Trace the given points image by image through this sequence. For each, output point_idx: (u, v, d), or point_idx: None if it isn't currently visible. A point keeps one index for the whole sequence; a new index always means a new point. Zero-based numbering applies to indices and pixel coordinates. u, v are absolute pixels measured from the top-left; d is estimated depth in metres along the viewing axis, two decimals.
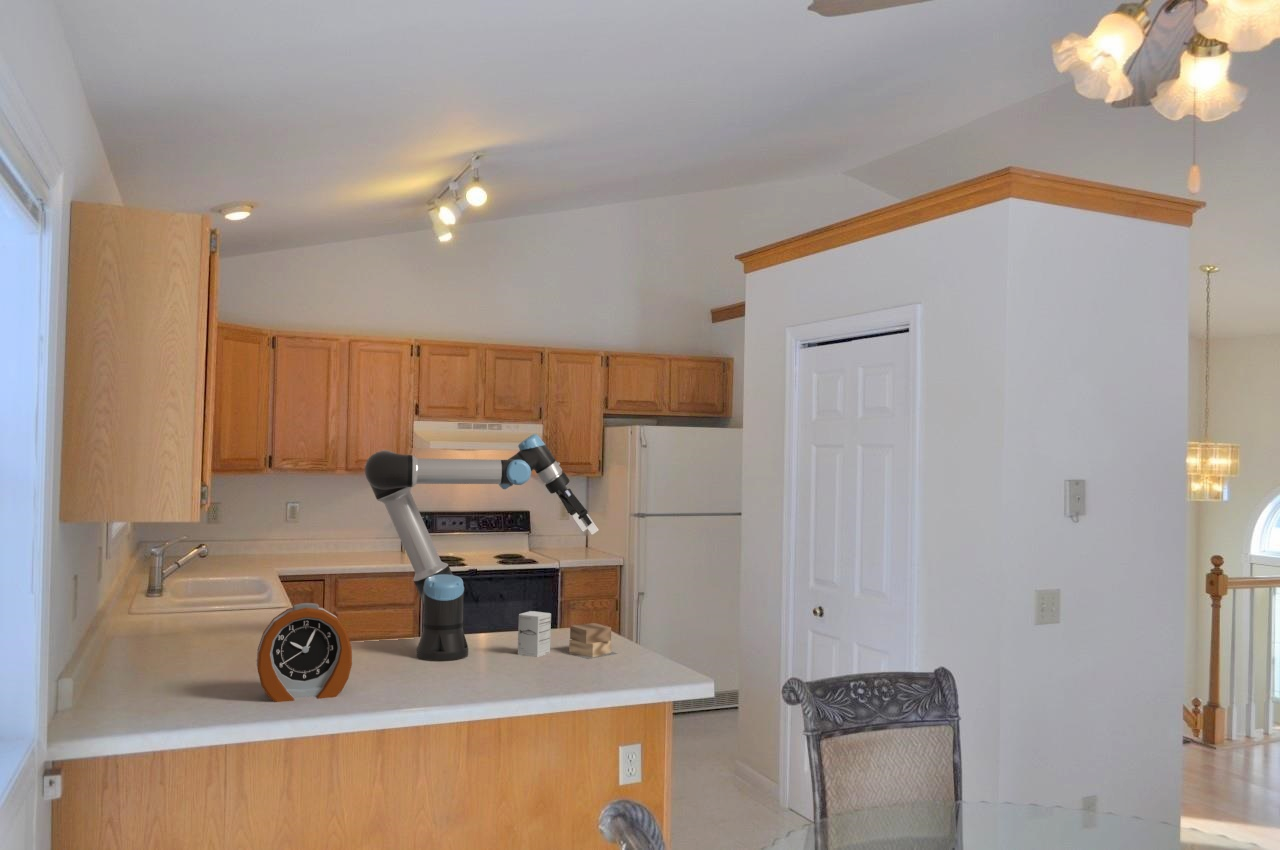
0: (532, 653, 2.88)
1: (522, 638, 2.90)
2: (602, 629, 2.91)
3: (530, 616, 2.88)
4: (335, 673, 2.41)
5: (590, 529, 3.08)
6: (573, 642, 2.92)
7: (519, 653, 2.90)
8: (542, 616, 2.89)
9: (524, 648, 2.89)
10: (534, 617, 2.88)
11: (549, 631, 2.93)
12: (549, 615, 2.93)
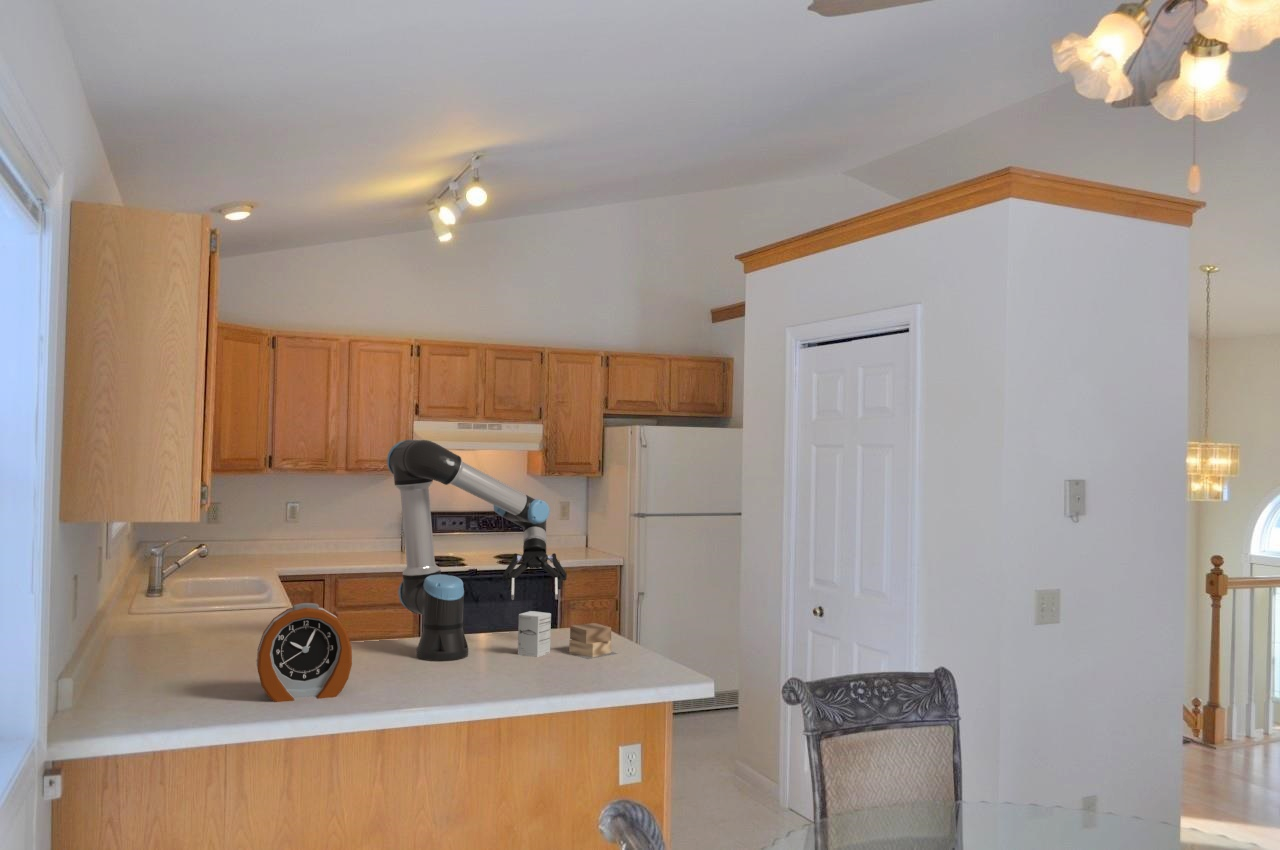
0: (532, 653, 2.88)
1: (522, 638, 2.90)
2: (602, 629, 2.91)
3: (530, 616, 2.88)
4: (335, 673, 2.41)
5: (557, 590, 3.04)
6: (573, 642, 2.92)
7: (519, 653, 2.90)
8: (542, 616, 2.89)
9: (524, 648, 2.89)
10: (534, 617, 2.88)
11: (549, 631, 2.93)
12: (549, 615, 2.93)
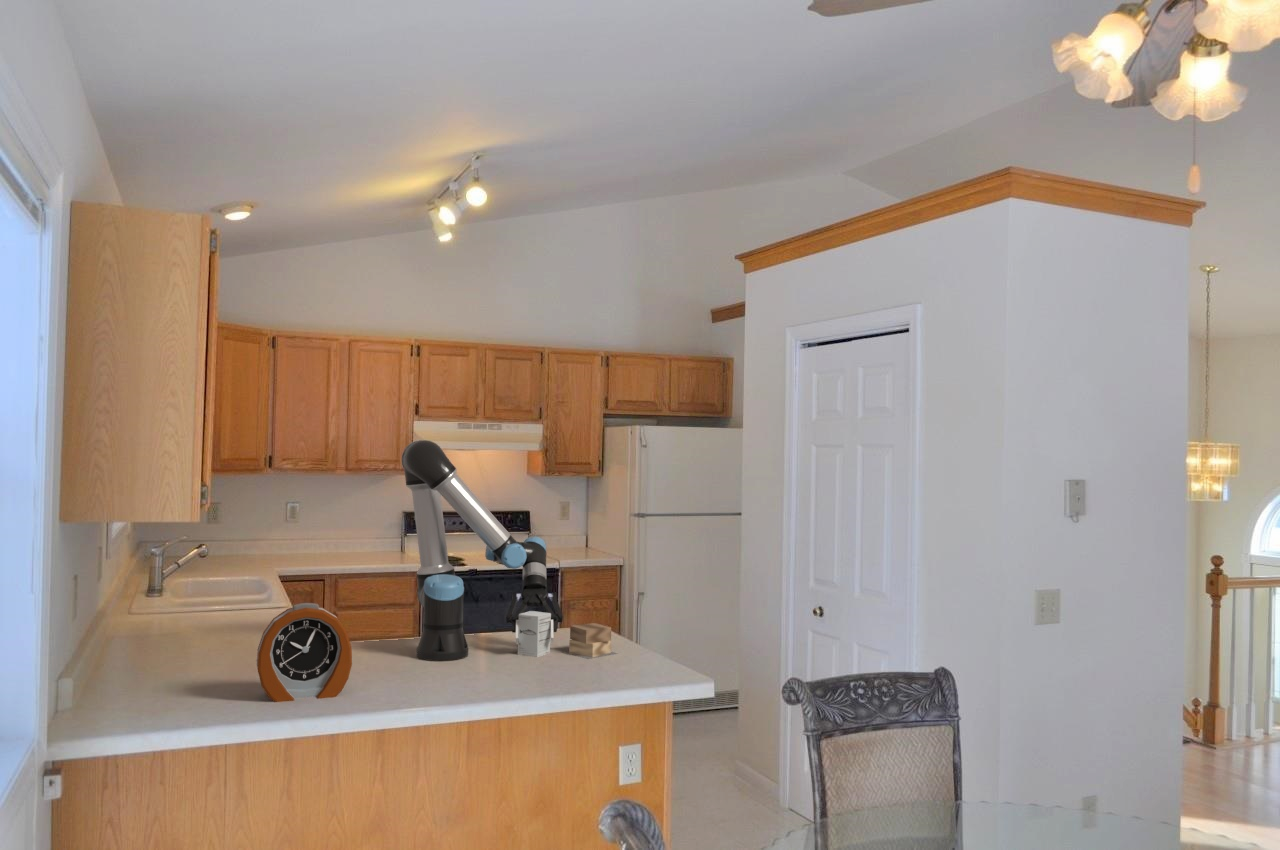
0: (532, 653, 2.88)
1: (521, 638, 2.90)
2: (602, 629, 2.91)
3: (530, 616, 2.88)
4: (335, 673, 2.41)
5: None
6: (573, 642, 2.92)
7: (519, 653, 2.90)
8: (542, 616, 2.89)
9: (524, 648, 2.89)
10: (534, 617, 2.88)
11: (549, 631, 2.93)
12: (549, 615, 2.93)
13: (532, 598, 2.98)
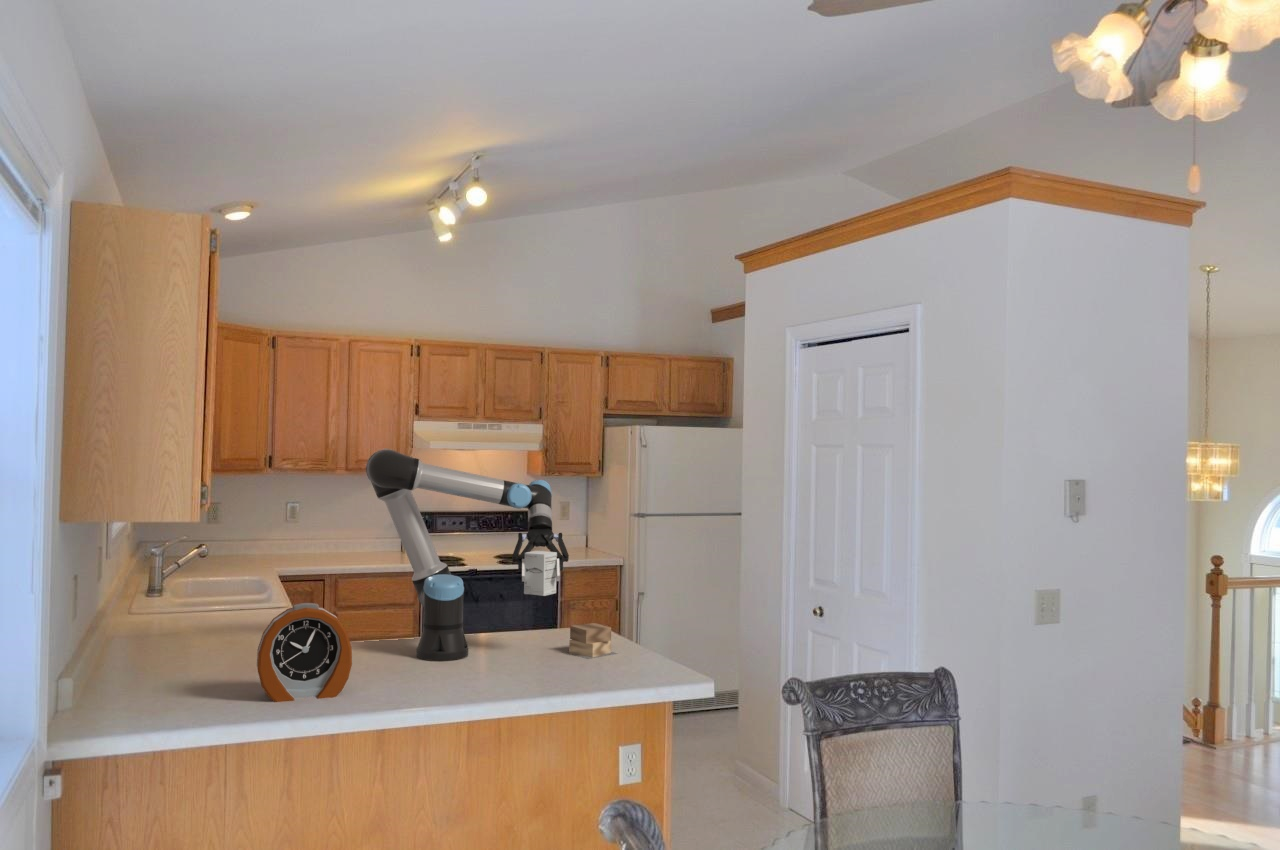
0: (538, 591, 2.89)
1: (528, 577, 2.90)
2: (602, 629, 2.91)
3: (536, 554, 2.89)
4: (335, 673, 2.41)
5: (559, 571, 2.91)
6: (573, 642, 2.92)
7: (525, 591, 2.91)
8: (548, 554, 2.90)
9: (530, 586, 2.90)
10: (540, 555, 2.89)
11: (555, 570, 2.94)
12: (555, 554, 2.93)
13: (538, 538, 2.99)
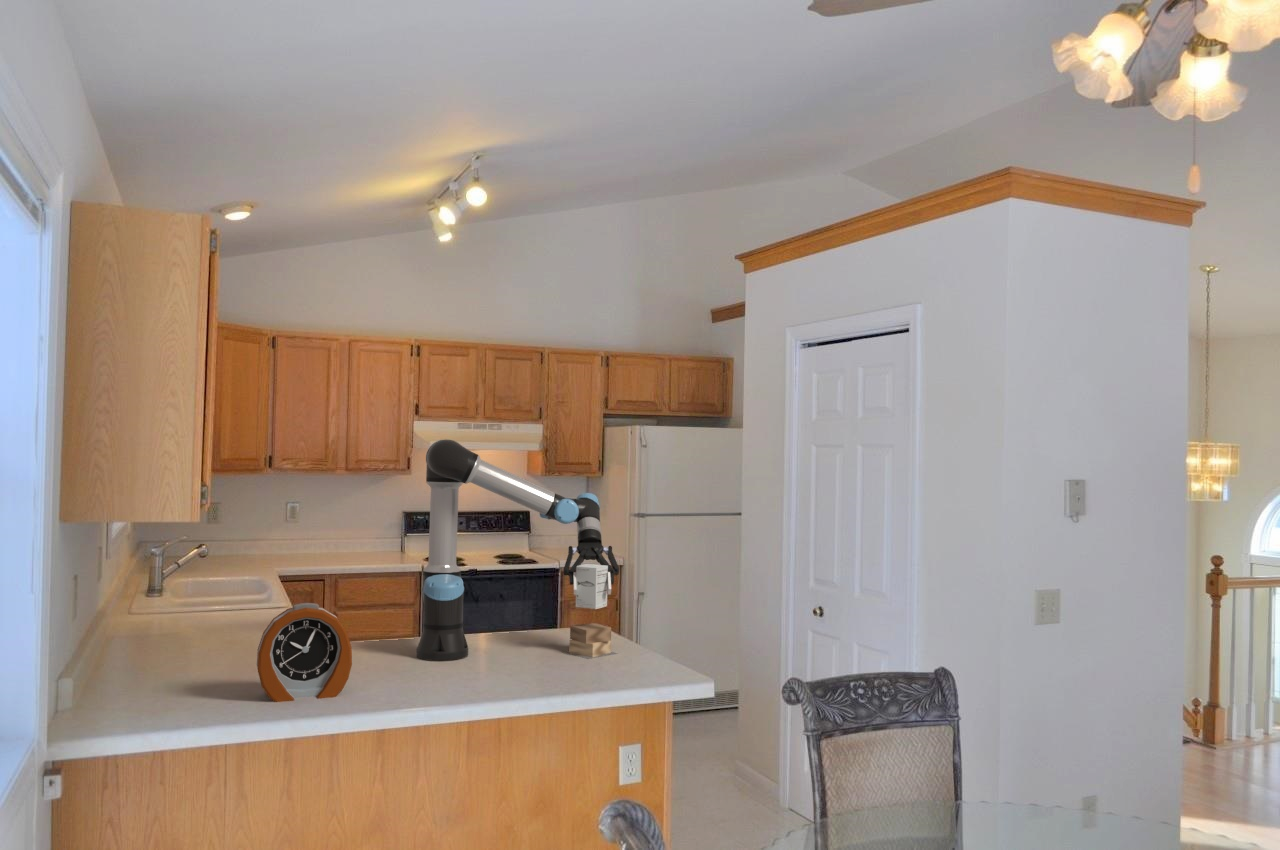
0: (590, 604, 2.90)
1: (579, 590, 2.92)
2: (602, 629, 2.91)
3: (588, 568, 2.91)
4: (335, 673, 2.41)
5: (610, 585, 2.93)
6: (573, 642, 2.92)
7: (577, 604, 2.93)
8: (600, 568, 2.92)
9: (582, 599, 2.92)
10: (592, 568, 2.90)
11: (606, 583, 2.95)
12: (606, 567, 2.95)
13: (588, 551, 3.01)
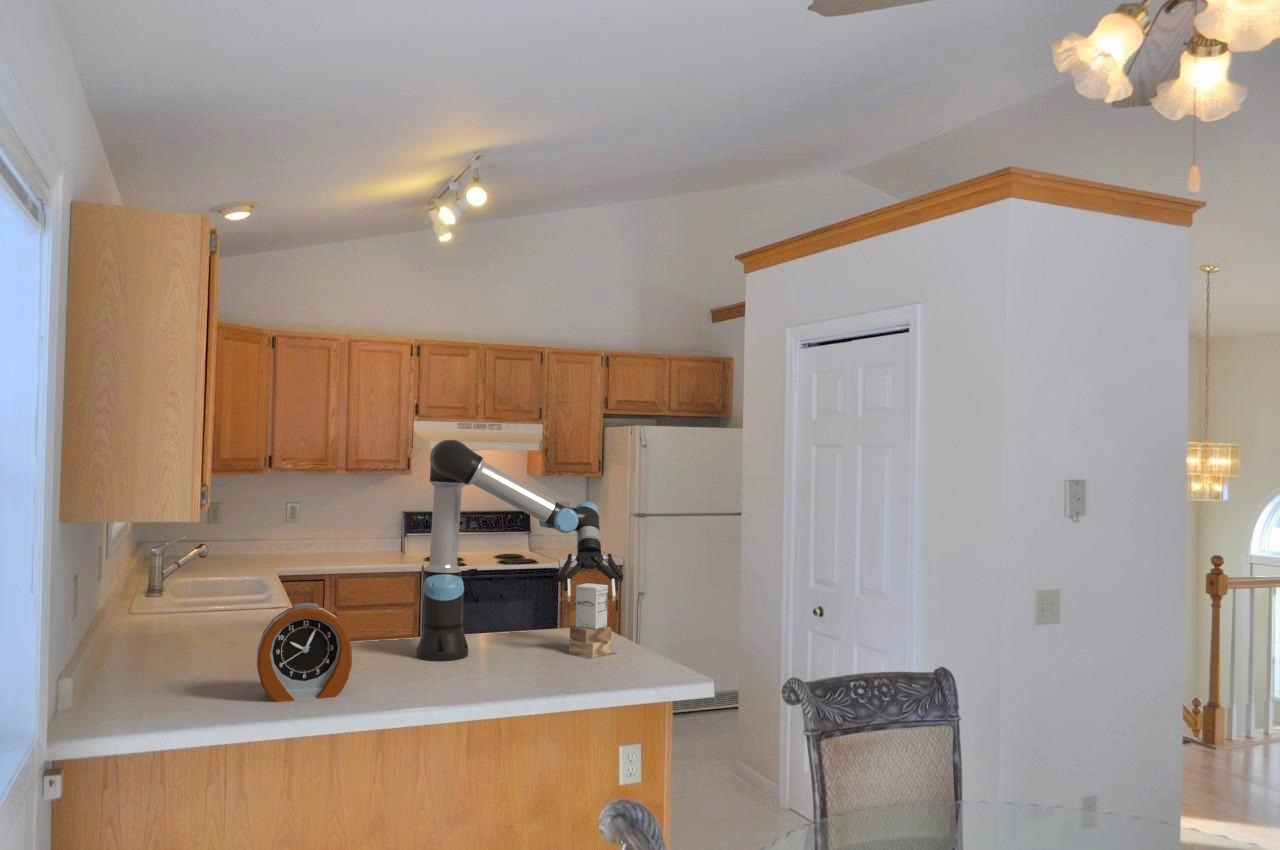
0: (590, 624, 2.90)
1: (579, 610, 2.92)
2: (602, 629, 2.91)
3: (588, 587, 2.91)
4: (335, 673, 2.41)
5: None
6: (573, 642, 2.92)
7: (577, 624, 2.92)
8: (600, 587, 2.92)
9: (581, 619, 2.92)
10: (592, 588, 2.90)
11: (606, 603, 2.95)
12: (606, 587, 2.95)
13: (587, 561, 3.01)
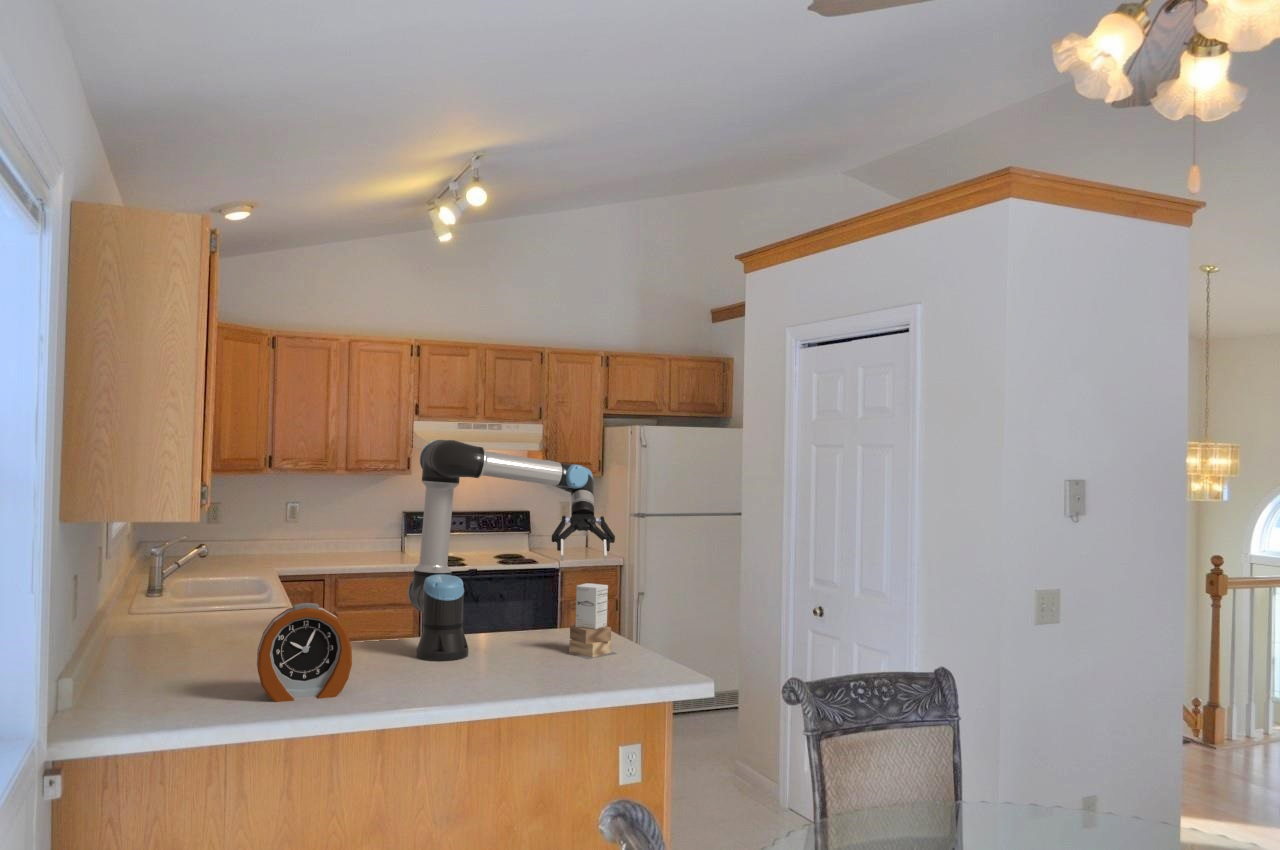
0: (590, 624, 2.90)
1: (579, 610, 2.92)
2: (602, 629, 2.91)
3: (588, 587, 2.91)
4: (335, 673, 2.41)
5: None
6: (573, 642, 2.92)
7: (577, 624, 2.92)
8: (600, 587, 2.92)
9: (581, 619, 2.92)
10: (592, 588, 2.90)
11: (606, 603, 2.95)
12: (606, 587, 2.95)
13: (581, 523, 3.13)
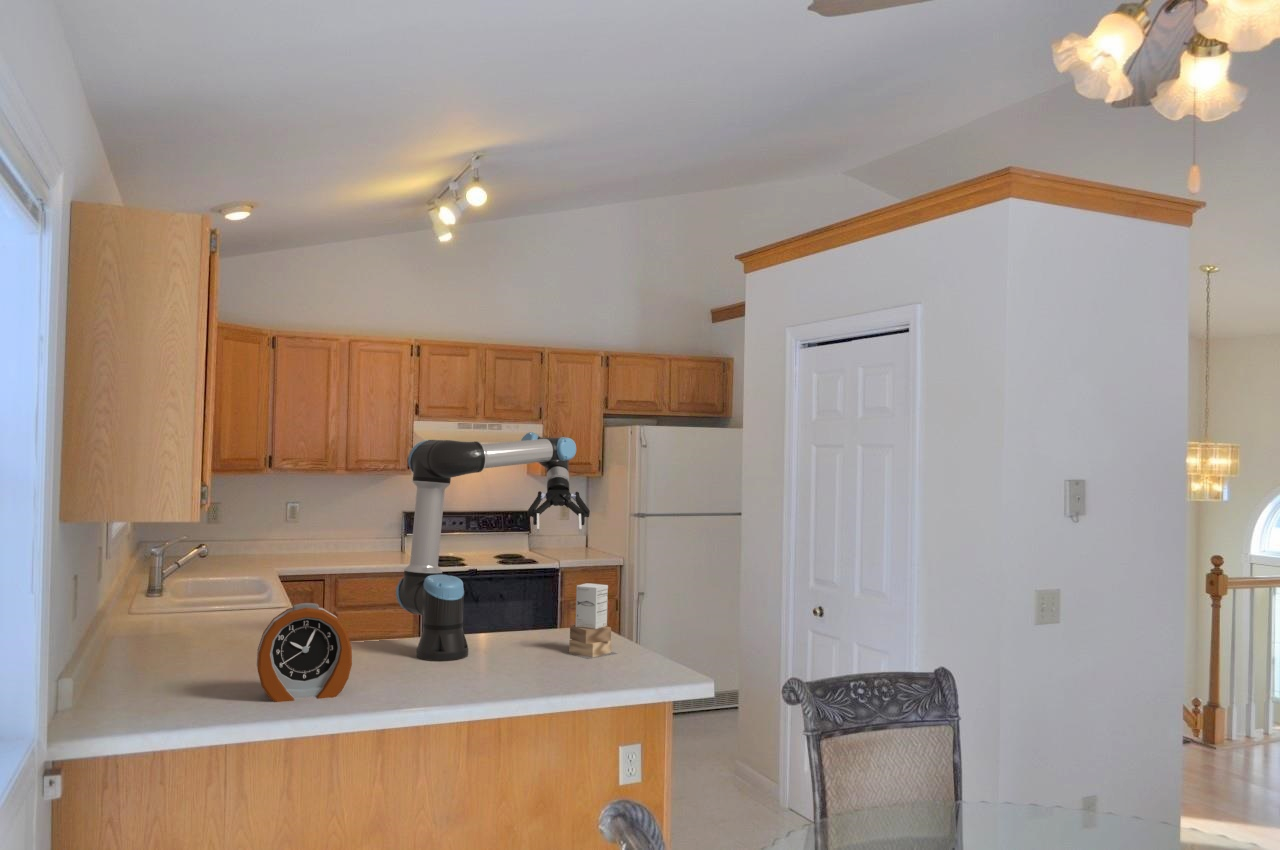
0: (590, 624, 2.90)
1: (579, 610, 2.92)
2: (602, 629, 2.91)
3: (588, 587, 2.91)
4: (335, 673, 2.41)
5: None
6: (573, 642, 2.92)
7: (577, 624, 2.92)
8: (600, 587, 2.92)
9: (581, 619, 2.92)
10: (592, 588, 2.90)
11: (606, 603, 2.95)
12: (606, 587, 2.95)
13: (556, 498, 3.21)
